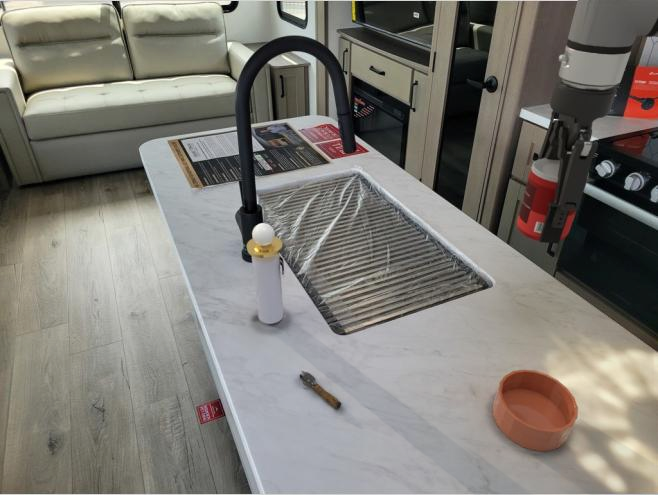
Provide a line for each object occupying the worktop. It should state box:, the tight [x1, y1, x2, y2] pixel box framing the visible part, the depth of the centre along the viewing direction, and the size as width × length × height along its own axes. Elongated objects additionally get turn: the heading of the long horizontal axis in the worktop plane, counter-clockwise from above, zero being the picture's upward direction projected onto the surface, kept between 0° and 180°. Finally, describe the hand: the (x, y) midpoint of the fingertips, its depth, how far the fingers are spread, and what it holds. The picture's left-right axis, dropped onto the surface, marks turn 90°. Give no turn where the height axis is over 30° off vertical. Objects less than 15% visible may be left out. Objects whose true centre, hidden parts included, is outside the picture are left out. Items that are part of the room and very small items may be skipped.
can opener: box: [299, 370, 342, 409], centre depth 72 cm, size 9×2×1 cm, turn 39°
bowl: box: [492, 369, 579, 452], centre depth 68 cm, size 10×10×4 cm
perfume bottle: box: [246, 222, 285, 325], centre depth 81 cm, size 6×6×20 cm
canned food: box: [516, 158, 590, 242], centre depth 73 cm, size 8×8×11 cm
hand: (542, 226), depth 76 cm, fingers closed on canned food, 8 cm apart
